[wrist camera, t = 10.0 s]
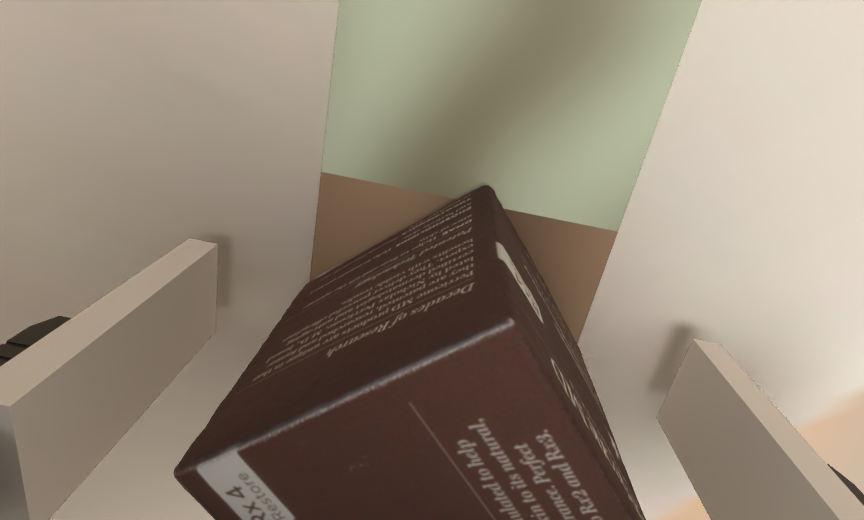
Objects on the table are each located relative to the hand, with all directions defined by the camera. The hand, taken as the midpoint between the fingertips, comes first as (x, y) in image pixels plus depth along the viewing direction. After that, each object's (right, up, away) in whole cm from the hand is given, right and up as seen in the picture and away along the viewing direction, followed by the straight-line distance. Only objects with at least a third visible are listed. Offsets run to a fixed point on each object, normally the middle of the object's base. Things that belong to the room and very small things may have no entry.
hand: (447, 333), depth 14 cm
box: (0, +1, +1) cm, 1 cm away
